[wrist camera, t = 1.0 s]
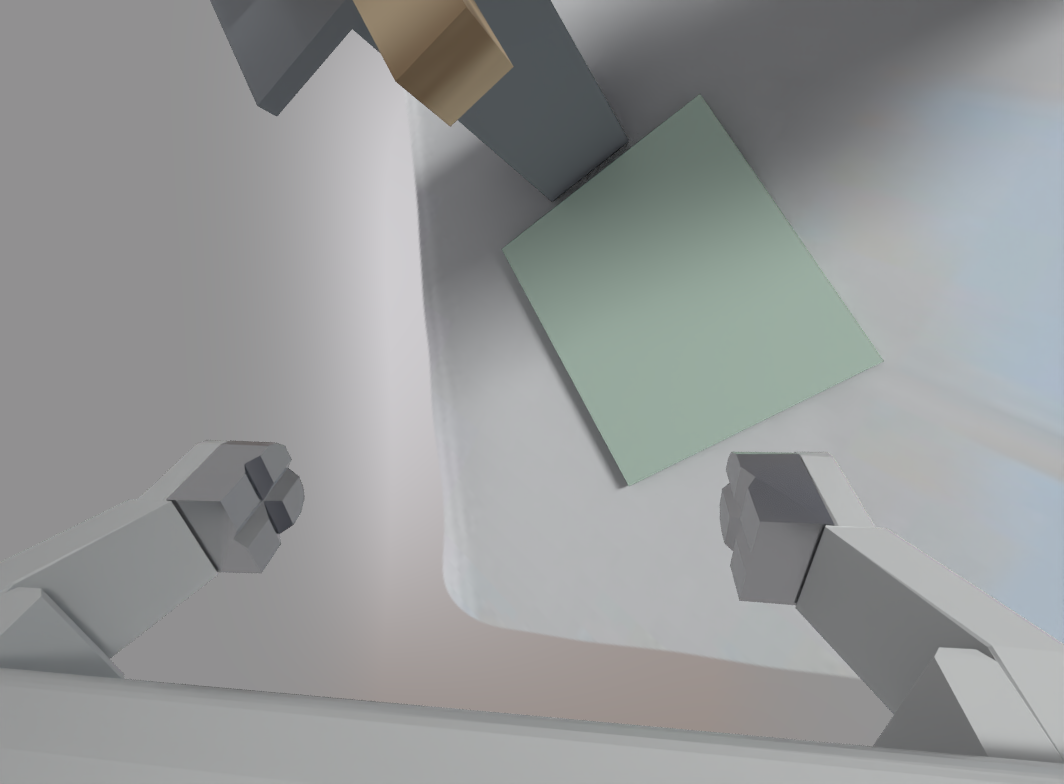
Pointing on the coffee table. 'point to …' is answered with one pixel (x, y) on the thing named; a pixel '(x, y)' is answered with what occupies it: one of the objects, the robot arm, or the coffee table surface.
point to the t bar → (437, 50)
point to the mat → (683, 297)
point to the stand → (496, 118)
